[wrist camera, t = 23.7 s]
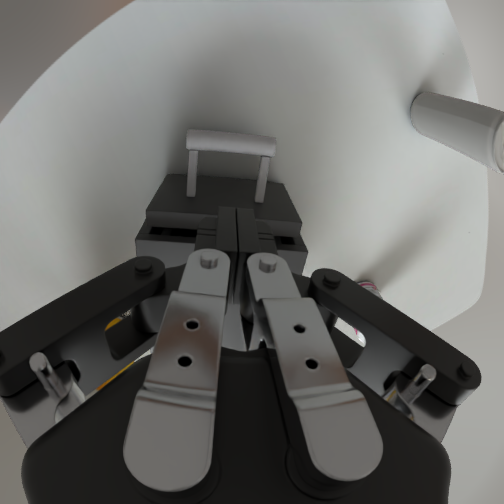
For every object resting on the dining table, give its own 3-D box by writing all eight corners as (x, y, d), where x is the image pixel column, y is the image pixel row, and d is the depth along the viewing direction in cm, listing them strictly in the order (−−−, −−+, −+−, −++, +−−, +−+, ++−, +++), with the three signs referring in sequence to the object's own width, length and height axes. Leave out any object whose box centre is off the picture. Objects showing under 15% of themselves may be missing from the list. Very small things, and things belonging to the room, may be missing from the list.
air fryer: (162, 187, 26) (134, 239, 18) (284, 197, 28) (308, 252, 20) (166, 297, 33) (152, 362, 25) (263, 303, 35) (272, 369, 27)
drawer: (170, 119, 22) (145, 136, 15) (292, 131, 23) (318, 152, 17) (168, 284, 31) (157, 338, 25) (262, 290, 33) (270, 344, 26)
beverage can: (448, 121, 24) (530, 156, 13) (420, 144, 25) (500, 188, 15) (429, 83, 21) (518, 104, 11) (399, 105, 23) (486, 134, 13)
